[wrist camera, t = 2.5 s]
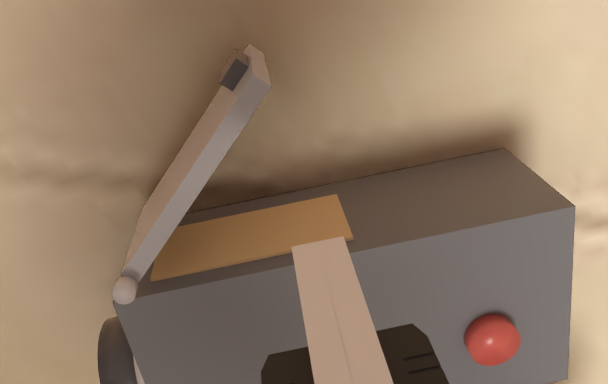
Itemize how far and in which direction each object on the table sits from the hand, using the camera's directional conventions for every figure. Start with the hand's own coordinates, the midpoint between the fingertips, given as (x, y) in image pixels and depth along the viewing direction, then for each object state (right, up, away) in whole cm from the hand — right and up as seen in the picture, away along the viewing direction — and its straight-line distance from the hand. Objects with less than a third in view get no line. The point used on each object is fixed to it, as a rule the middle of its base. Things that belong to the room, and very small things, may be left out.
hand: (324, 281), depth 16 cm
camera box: (0, -1, +16) cm, 16 cm away
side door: (-6, +6, +11) cm, 14 cm away
